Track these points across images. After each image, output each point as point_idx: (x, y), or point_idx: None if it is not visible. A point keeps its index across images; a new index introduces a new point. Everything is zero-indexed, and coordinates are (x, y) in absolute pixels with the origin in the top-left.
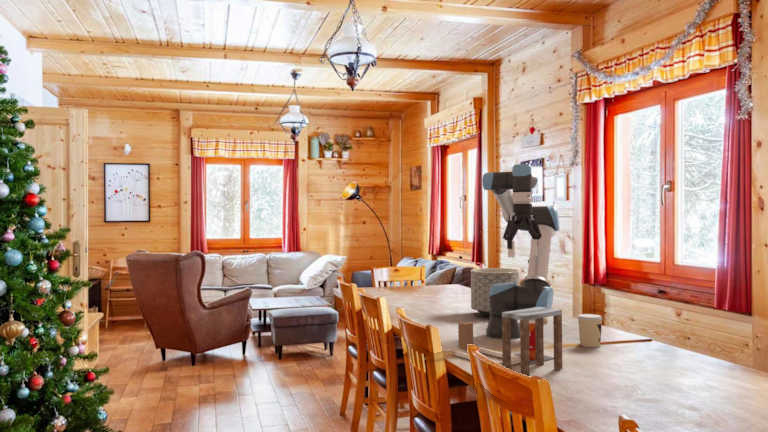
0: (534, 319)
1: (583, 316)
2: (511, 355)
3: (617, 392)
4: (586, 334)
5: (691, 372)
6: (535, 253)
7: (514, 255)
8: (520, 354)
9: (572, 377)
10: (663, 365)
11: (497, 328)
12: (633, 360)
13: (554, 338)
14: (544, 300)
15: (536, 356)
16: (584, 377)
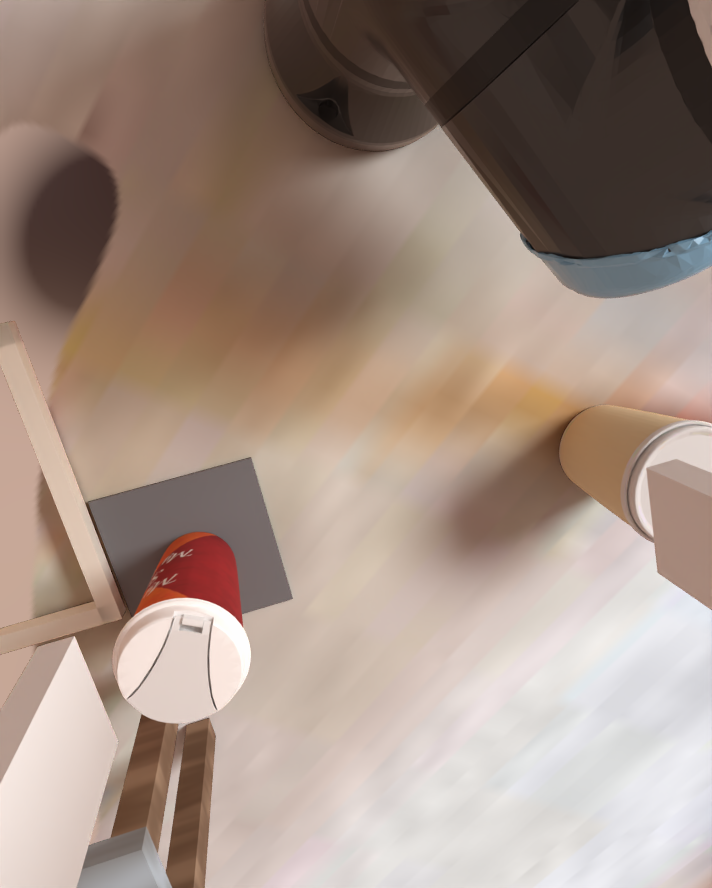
0: (166, 721)
1: None
2: (90, 565)
3: None
4: (588, 488)
5: (570, 866)
6: (679, 575)
7: (107, 768)
8: (188, 492)
9: None
10: (570, 785)
11: (297, 73)
12: (541, 706)
13: (174, 828)
14: (588, 293)
15: None
16: (221, 835)
